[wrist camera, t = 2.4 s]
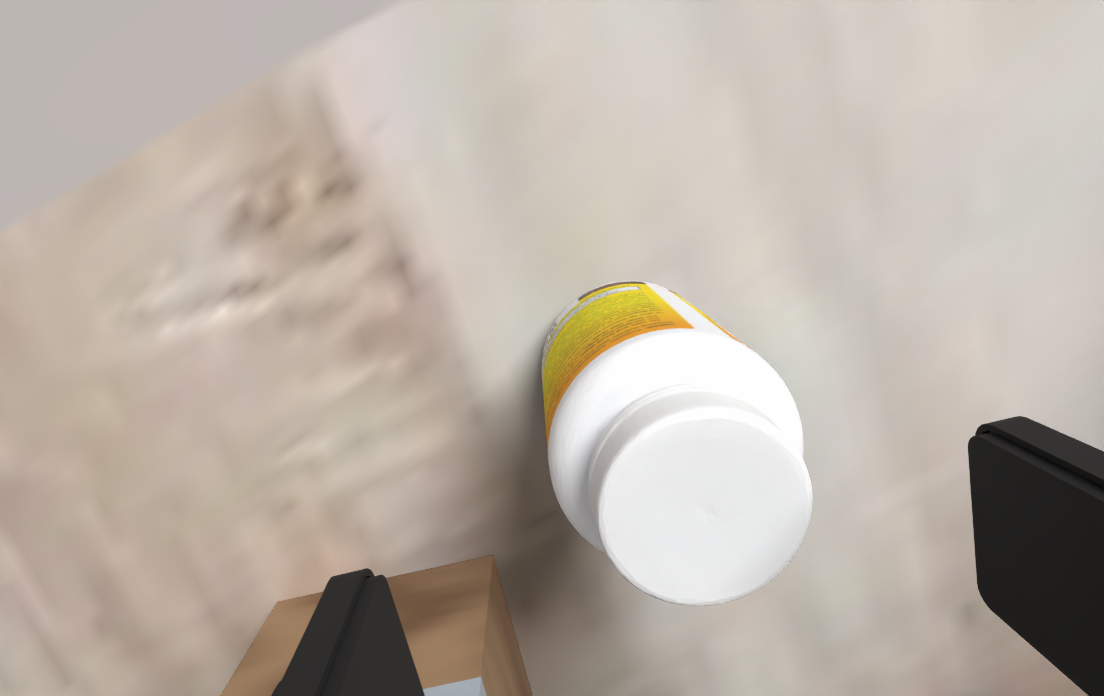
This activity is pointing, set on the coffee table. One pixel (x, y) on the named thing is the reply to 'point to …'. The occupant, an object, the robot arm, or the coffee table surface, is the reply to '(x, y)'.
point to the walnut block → (412, 632)
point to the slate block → (458, 688)
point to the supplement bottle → (672, 445)
